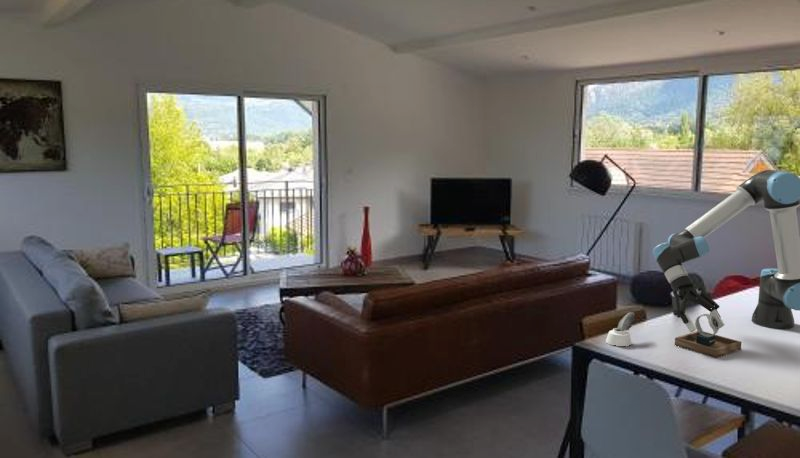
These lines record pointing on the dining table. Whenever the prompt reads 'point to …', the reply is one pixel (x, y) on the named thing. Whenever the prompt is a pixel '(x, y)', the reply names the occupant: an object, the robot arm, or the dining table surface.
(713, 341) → the watch
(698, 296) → the robot arm
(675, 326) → the dining table surface
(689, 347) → the walnut tray
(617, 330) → the inkwell
